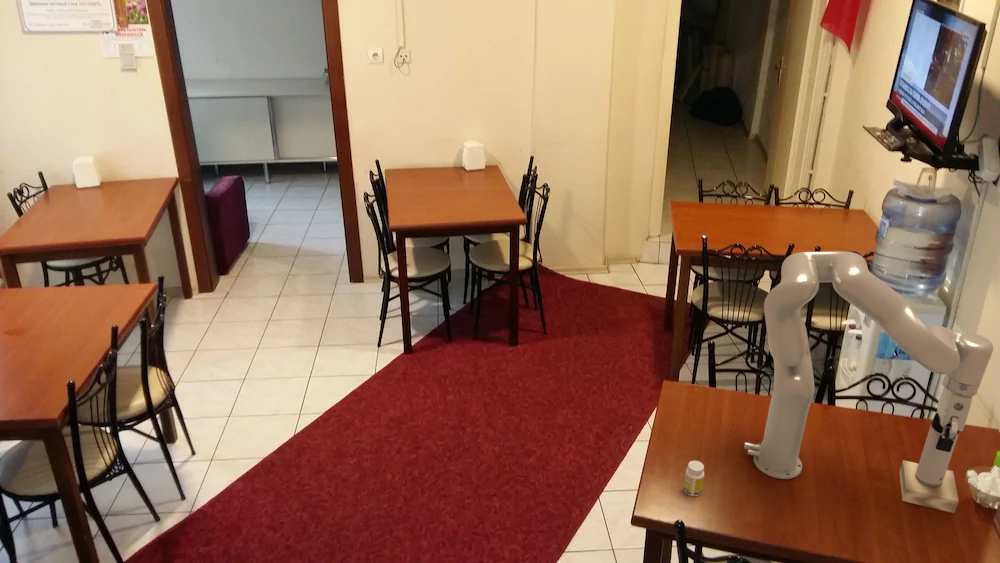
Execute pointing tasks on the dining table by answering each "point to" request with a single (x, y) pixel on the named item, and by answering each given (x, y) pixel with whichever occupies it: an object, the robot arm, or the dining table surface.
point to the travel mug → (934, 457)
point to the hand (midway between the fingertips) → (940, 438)
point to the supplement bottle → (694, 478)
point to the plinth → (928, 489)
